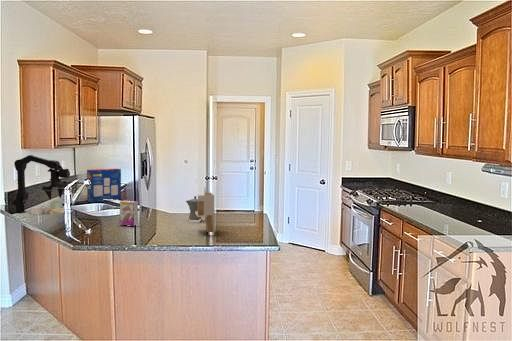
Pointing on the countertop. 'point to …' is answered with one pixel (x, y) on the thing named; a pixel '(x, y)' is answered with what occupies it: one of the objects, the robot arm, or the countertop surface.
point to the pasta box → (104, 184)
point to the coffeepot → (193, 208)
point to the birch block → (54, 211)
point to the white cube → (36, 210)
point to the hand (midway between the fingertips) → (55, 198)
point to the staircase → (206, 210)
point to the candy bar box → (128, 213)
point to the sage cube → (55, 205)
